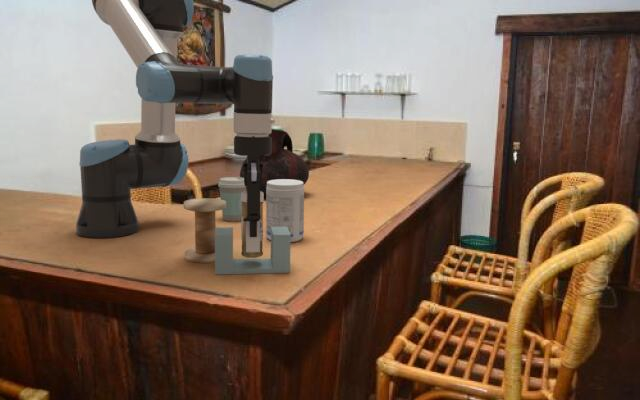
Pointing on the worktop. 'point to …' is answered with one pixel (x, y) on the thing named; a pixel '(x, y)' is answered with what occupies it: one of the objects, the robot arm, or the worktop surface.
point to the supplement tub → (285, 207)
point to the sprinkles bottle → (244, 215)
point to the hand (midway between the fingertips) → (252, 248)
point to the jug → (281, 161)
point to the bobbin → (203, 228)
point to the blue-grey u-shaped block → (252, 266)
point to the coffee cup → (232, 197)
